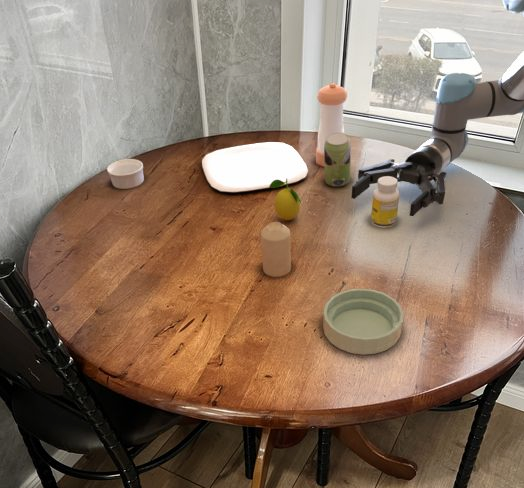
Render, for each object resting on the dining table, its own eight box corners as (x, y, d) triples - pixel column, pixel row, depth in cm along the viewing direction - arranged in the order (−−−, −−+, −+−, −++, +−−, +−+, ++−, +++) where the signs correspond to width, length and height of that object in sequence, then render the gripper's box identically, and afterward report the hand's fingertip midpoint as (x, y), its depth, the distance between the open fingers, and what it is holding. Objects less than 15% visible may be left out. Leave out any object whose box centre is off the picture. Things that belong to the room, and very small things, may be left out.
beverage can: (350, 177, 133) (353, 128, 124) (348, 192, 128) (351, 142, 119) (324, 177, 134) (326, 128, 125) (321, 191, 129) (323, 141, 120)
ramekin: (153, 178, 138) (149, 161, 135) (131, 193, 133) (128, 177, 130) (125, 172, 141) (121, 156, 138) (103, 187, 136) (99, 171, 133)
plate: (213, 202, 127) (213, 195, 126) (197, 158, 145) (197, 151, 144) (316, 185, 131) (316, 178, 130) (288, 144, 149) (288, 137, 148)
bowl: (412, 321, 94) (415, 303, 91) (381, 367, 86) (383, 349, 83) (344, 298, 99) (345, 280, 96) (309, 340, 91) (309, 322, 89)
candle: (292, 277, 104) (291, 232, 98) (264, 279, 104) (261, 234, 97) (289, 261, 108) (288, 216, 102) (262, 263, 108) (259, 219, 101)
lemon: (270, 215, 122) (268, 173, 115) (295, 211, 122) (295, 169, 116) (277, 230, 117) (275, 187, 110) (303, 226, 118) (303, 183, 111)
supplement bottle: (369, 216, 119) (373, 174, 112) (395, 216, 119) (400, 174, 112) (371, 229, 115) (375, 186, 109) (396, 229, 115) (402, 186, 108)
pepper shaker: (336, 154, 143) (339, 76, 129) (349, 165, 138) (353, 85, 124) (311, 159, 141) (312, 81, 128) (323, 170, 136) (325, 91, 123)
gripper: (476, 191, 120) (435, 234, 109) (376, 165, 132) (330, 201, 120) (484, 158, 115) (441, 200, 104) (380, 134, 127) (331, 169, 115)
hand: (381, 201), depth 112 cm, fingers open, 13 cm apart
